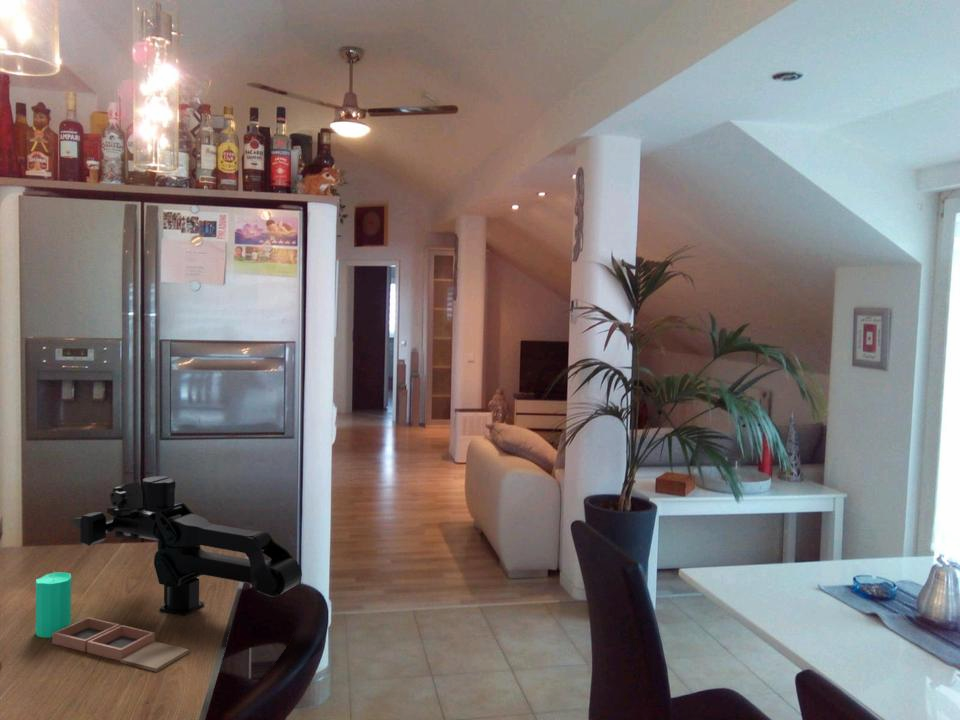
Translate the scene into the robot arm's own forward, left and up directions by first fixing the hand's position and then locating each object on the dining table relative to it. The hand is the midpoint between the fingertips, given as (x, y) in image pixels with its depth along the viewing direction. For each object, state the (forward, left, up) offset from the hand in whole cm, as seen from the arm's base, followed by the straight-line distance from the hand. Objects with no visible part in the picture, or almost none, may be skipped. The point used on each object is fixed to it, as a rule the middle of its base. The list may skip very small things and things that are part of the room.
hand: (90, 515), depth 164 cm
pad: (-37, +19, -17) cm, 45 cm away
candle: (-11, +19, -17) cm, 28 cm away
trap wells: (-24, +19, -17) cm, 35 cm away
